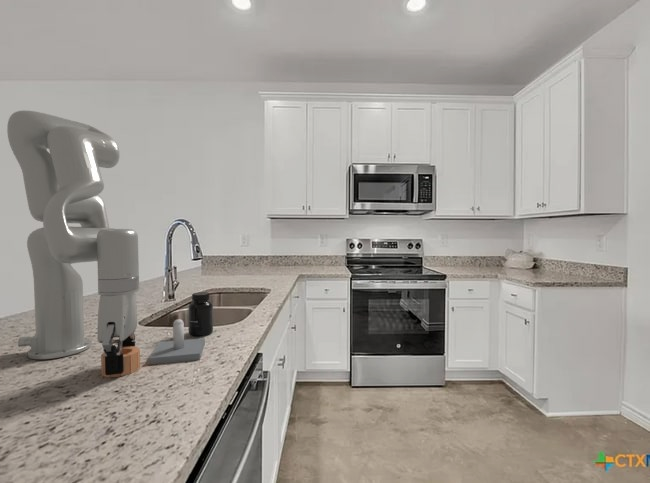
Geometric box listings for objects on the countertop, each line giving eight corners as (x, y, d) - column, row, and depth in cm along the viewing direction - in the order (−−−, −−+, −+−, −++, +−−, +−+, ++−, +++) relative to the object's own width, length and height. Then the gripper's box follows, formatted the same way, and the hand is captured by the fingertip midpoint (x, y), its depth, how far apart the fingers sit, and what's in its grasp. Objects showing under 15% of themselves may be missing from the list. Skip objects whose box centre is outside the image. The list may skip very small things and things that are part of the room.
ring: (96, 378, 66) (95, 359, 66) (109, 365, 73) (109, 347, 73) (134, 375, 68) (133, 356, 68) (143, 361, 75) (143, 344, 75)
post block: (148, 364, 73) (147, 327, 73) (160, 347, 84) (159, 315, 84) (199, 359, 76) (199, 323, 76) (204, 343, 87) (204, 312, 87)
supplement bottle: (187, 338, 91) (186, 296, 91) (190, 331, 98) (189, 291, 97) (212, 336, 93) (211, 294, 93) (214, 329, 100) (213, 290, 99)
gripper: (114, 280, 77) (116, 353, 78) (79, 294, 61) (82, 387, 61) (149, 279, 79) (150, 350, 80) (124, 292, 63) (127, 382, 63)
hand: (121, 365), depth 71 cm, fingers closed on ring, 7 cm apart
